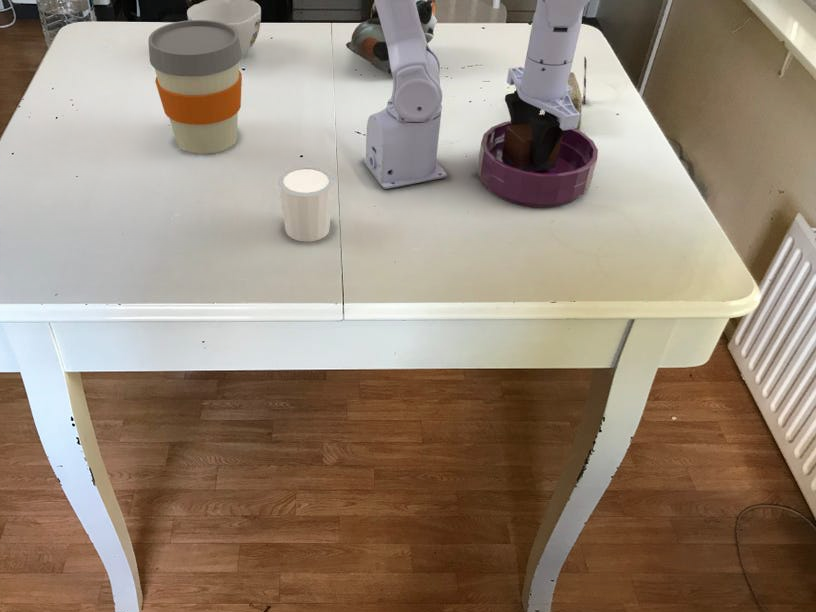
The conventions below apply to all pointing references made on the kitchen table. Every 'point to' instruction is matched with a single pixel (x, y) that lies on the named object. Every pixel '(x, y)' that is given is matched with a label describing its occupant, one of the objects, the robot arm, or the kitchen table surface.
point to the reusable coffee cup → (199, 82)
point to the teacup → (231, 18)
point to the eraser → (524, 149)
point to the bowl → (539, 185)
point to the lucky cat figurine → (372, 40)
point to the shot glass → (306, 202)
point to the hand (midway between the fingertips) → (529, 154)
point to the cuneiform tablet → (577, 92)
